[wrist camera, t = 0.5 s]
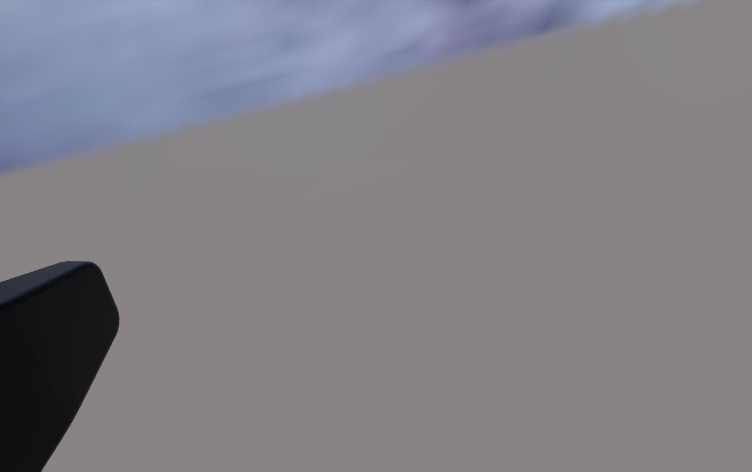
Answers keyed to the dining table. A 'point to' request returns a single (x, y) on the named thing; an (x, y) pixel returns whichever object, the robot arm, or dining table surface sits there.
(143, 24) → the dining table surface
